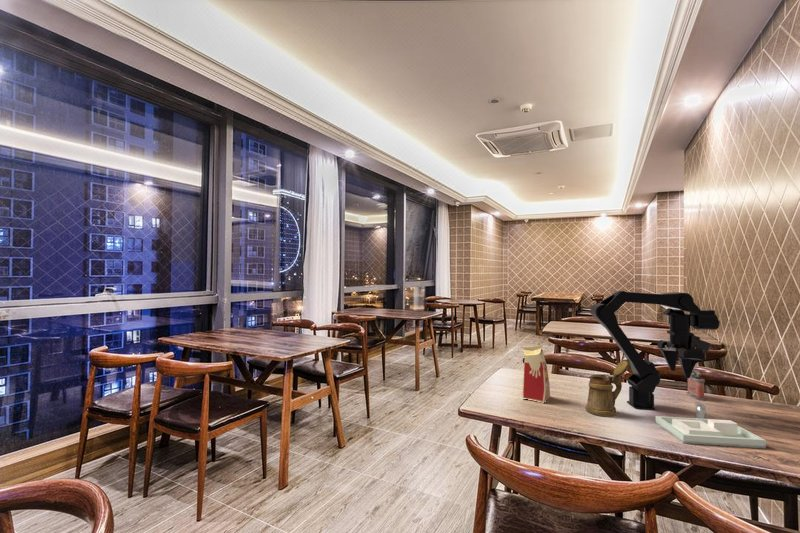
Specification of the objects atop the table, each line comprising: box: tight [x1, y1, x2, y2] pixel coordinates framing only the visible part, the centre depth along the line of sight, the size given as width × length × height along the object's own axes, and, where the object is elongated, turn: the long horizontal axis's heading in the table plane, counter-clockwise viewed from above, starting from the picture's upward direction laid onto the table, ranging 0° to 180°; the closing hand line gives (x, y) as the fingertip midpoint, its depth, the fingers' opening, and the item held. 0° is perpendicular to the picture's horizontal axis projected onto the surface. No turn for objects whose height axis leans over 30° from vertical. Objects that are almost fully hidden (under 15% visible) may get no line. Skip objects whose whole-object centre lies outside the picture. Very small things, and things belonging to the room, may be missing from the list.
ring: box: [672, 418, 738, 436], centre depth 105 cm, size 14×8×4 cm, turn 82°
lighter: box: [686, 369, 706, 402], centre depth 138 cm, size 8×3×10 cm, turn 168°
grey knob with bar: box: [694, 401, 707, 419], centre depth 116 cm, size 2×3×5 cm
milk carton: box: [521, 344, 551, 404], centre depth 136 cm, size 9×9×20 cm
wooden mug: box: [585, 358, 630, 418], centre depth 122 cm, size 9×14×18 cm, turn 81°
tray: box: [655, 415, 767, 450], centre depth 105 cm, size 20×14×2 cm
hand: (679, 374), depth 125 cm, fingers open, 9 cm apart
